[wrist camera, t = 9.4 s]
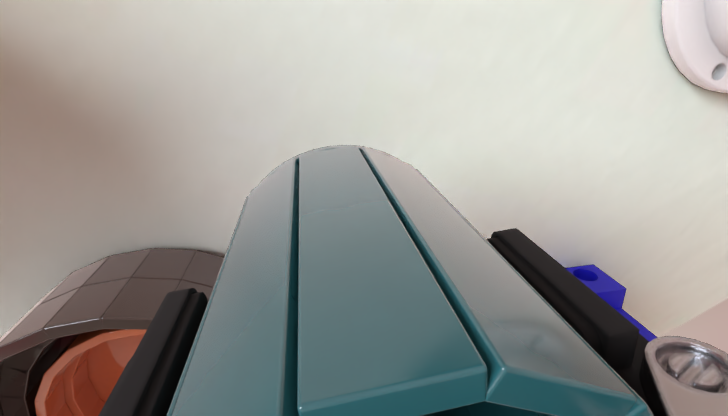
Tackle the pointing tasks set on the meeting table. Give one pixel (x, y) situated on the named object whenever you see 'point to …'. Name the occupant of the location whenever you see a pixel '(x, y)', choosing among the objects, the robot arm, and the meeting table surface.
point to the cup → (380, 309)
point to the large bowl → (94, 312)
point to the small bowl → (86, 372)
